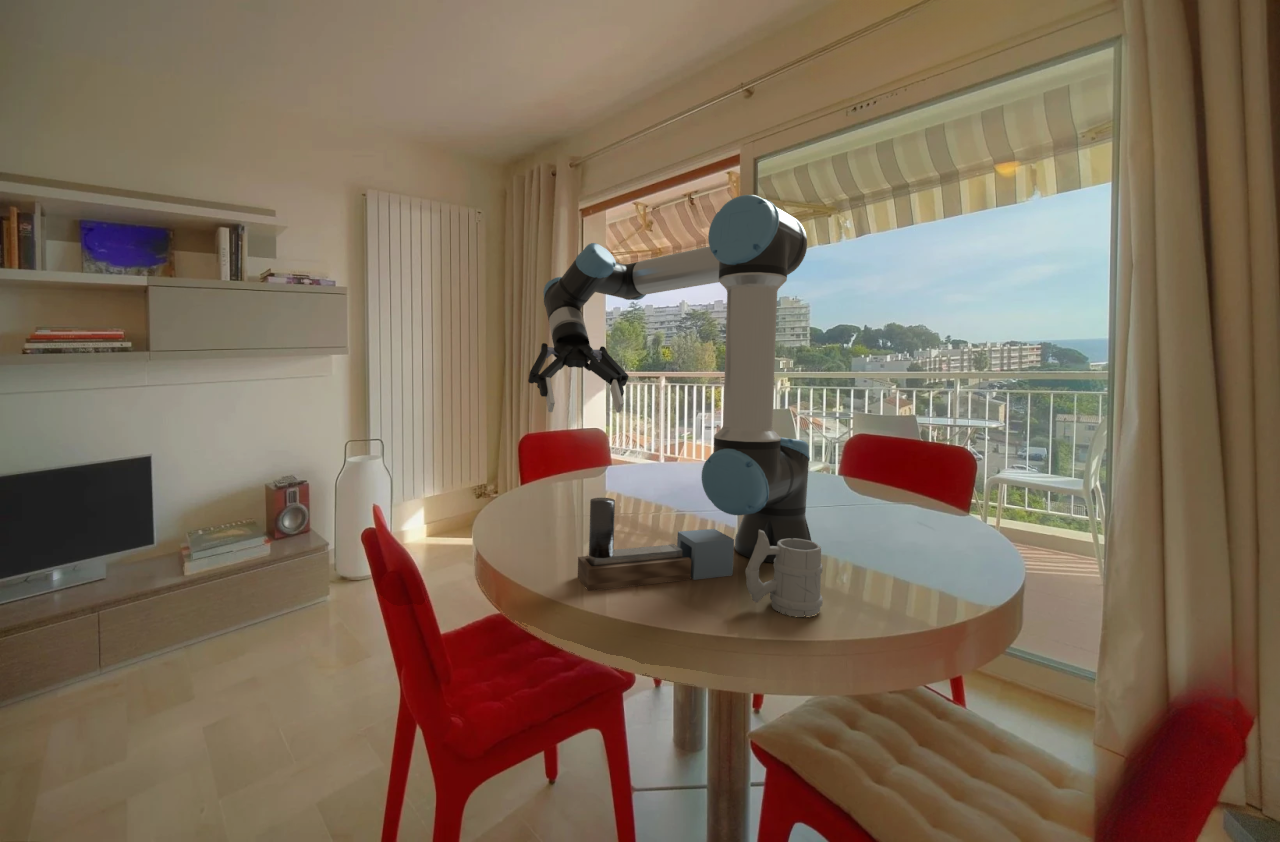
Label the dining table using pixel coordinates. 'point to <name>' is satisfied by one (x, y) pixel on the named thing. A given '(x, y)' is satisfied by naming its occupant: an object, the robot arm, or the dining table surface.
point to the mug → (788, 575)
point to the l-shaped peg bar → (604, 540)
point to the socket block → (707, 552)
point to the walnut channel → (632, 573)
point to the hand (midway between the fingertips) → (586, 408)
